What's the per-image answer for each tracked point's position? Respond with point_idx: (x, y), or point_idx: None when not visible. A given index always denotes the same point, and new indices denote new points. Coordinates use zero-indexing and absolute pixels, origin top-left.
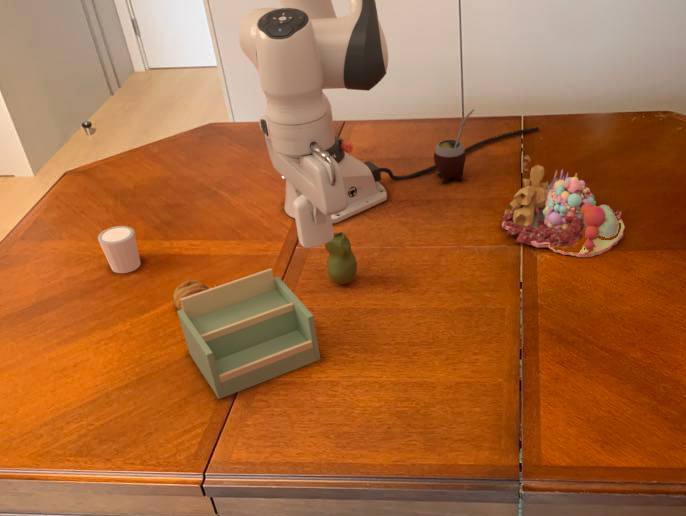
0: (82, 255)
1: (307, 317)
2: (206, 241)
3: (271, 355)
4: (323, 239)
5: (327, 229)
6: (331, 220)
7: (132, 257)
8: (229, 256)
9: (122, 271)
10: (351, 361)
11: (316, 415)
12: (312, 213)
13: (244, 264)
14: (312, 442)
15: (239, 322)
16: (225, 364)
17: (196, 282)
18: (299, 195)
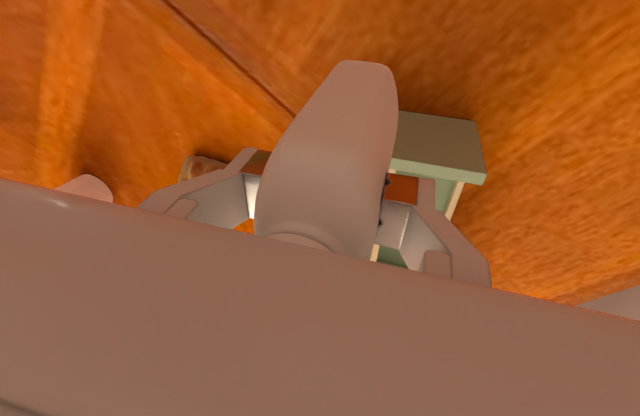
0: None
1: (478, 184)
2: (45, 78)
3: (447, 217)
4: (396, 129)
5: (393, 120)
6: (379, 96)
7: (94, 197)
8: (98, 72)
9: (111, 201)
10: (536, 78)
11: (586, 205)
12: (386, 244)
13: (128, 64)
14: (626, 240)
15: (376, 250)
16: (396, 249)
17: (184, 177)
18: (225, 224)
